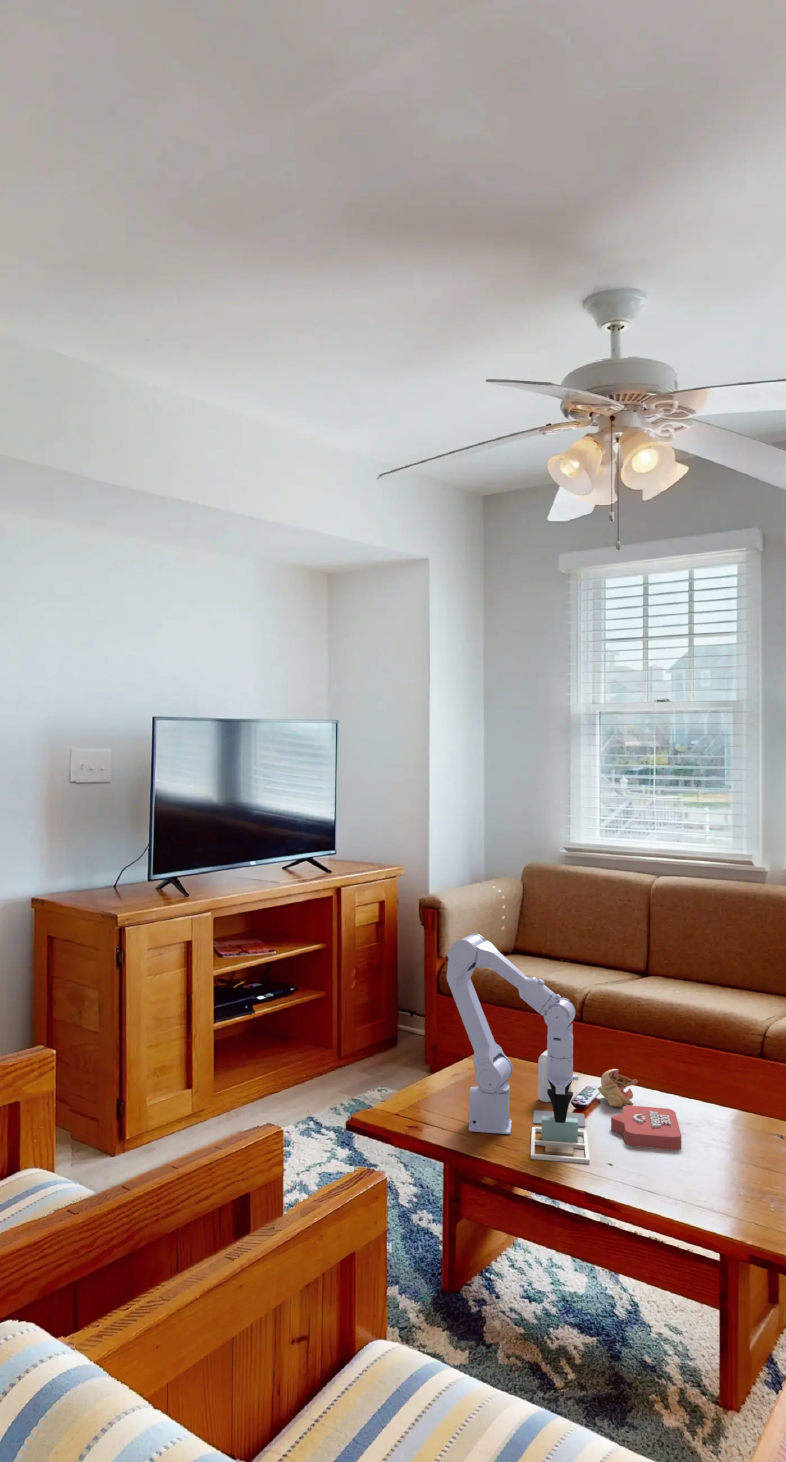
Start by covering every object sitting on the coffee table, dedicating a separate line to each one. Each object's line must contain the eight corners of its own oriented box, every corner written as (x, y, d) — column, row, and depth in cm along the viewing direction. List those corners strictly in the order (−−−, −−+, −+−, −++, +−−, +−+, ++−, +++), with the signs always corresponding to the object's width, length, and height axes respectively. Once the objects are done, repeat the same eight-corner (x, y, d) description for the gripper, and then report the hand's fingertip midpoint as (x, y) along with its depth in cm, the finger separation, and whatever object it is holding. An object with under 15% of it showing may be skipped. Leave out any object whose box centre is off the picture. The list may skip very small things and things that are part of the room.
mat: (533, 1123, 224) (533, 1122, 224) (533, 1111, 232) (533, 1110, 232) (585, 1127, 223) (585, 1126, 223) (584, 1115, 230) (584, 1113, 230)
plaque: (610, 1101, 231) (674, 1106, 228) (609, 1117, 231) (674, 1122, 228) (612, 1129, 213) (682, 1135, 210) (612, 1146, 213) (682, 1153, 210)
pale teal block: (541, 1140, 215) (541, 1119, 215) (541, 1136, 217) (541, 1115, 218) (577, 1143, 214) (577, 1122, 214) (577, 1139, 216) (577, 1118, 216)
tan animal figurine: (633, 1116, 232) (605, 1087, 232) (607, 1123, 239) (580, 1095, 240) (647, 1087, 238) (619, 1059, 238) (622, 1095, 245) (595, 1068, 246)
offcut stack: (545, 1158, 206) (545, 1151, 206) (545, 1151, 210) (545, 1144, 210) (574, 1160, 205) (574, 1153, 205) (573, 1153, 209) (573, 1146, 209)
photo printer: (559, 1090, 248) (559, 1042, 248) (573, 1094, 244) (573, 1045, 245) (535, 1099, 240) (535, 1050, 241) (549, 1104, 237) (549, 1054, 238)
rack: (530, 1158, 205) (530, 1155, 205) (532, 1130, 221) (532, 1126, 221) (589, 1163, 203) (589, 1159, 203) (586, 1134, 219) (586, 1130, 219)
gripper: (579, 1066, 208) (579, 1129, 208) (577, 1046, 223) (577, 1105, 222) (546, 1064, 209) (546, 1127, 209) (546, 1044, 224) (546, 1103, 223)
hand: (560, 1116), depth 216 cm, fingers open, 7 cm apart
